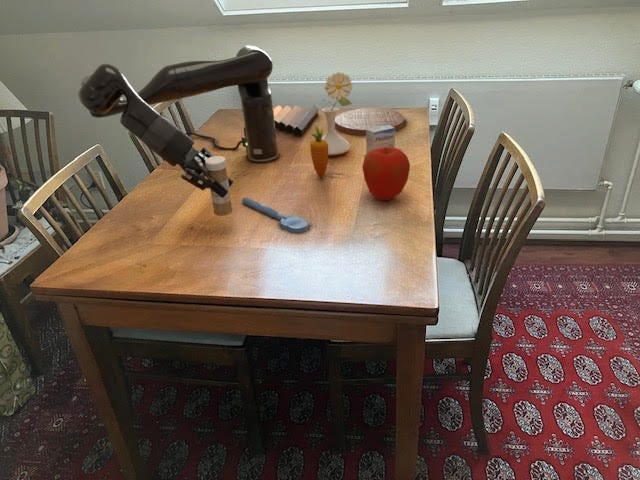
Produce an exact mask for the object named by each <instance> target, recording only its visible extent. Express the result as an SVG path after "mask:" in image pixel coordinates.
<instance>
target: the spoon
mask: <svg viewBox="0 0 640 480" xmlns="http://www.w3.org/2000/svg"><path fill="white" fill-rule="evenodd" d="M241 202H242V204H243V205H246V206H248V207H250V208H252V209H255V210H257V211H258V212H261V213H263V214H265V215H267V216H269V217H271V218H274V219H276V220H278V221H279V222H280V223H279V224H280V227H281V228H282V229H283V230H285V231H289V232H290V233H294V234H300V233H304V232H306V231H307V230H308V229H309V221H307V220H306V219H303V218H302V217H300V216H298V215H287V216H285V215H283V214H281V213H279V211H277V210H275V209H274V208H271V207H269V206H267V205H264V204H262V203H260V202H258V201H256V200H254V199H251V198H249V197H247V196H244V197H242V199H241Z"/></svg>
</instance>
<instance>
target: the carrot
mask: <svg viewBox="0 0 640 480" xmlns="http://www.w3.org/2000/svg"><path fill="white" fill-rule="evenodd" d="M314 128H315V131H316V132H315V133H314V132H310V135H311V136H312V137H314V138H315V139H314V140H311V142H310V144H309V145H310V154H311V160H312V161H311V162H312V164H313V165H312V166H313V168H314V171H315V173H316V174H317V176H318V178H319V179H322V178H324V176H325V174H326V171H327V168H328V163H329V155H328V143H327V142H326V140H324V139H322V137H323V136H324V135H323V134H324V129H323V128H320V129H319V126H317V125H316V126H314Z"/></svg>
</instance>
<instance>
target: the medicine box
mask: <svg viewBox="0 0 640 480" xmlns="http://www.w3.org/2000/svg"><path fill="white" fill-rule="evenodd" d="M382 147H393V148H396V131H395V128H394V127H392V126H390V125H384V126H380V127H375V128H371V129H366V135H365V156H366V155H367V154H368V153H369V152H370V151H371V150H373V149H377V148H382Z"/></svg>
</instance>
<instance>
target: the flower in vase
mask: <svg viewBox="0 0 640 480" xmlns="http://www.w3.org/2000/svg"><path fill="white" fill-rule="evenodd" d="M353 85H354V83H353V82H352V79H351V77H350V76H349V75H348V74H345V73H344V72H342V73H341V72H339V71H338V72H336V73H333V74H332V75H330V76H328V77H327V79H326V82H325V85H324V90H326V91H325V92H326V94H327V97H330V98H331V99H333V100H334V99H335V100H336V101H335V103H334V104H333V103H332V102H330V101H327V100H325V99H323V102H325V103H327V104H330V105H332V106H327V107H324V108H323V109H322V112H323V113H324V114H325V118H326V124H327V132H326V133H325V135H323V136H322V139H324V140H326V142H327V143H328V156H338V155H342V154H345V153H347V152H348V151H349V150H350V149H351V144H350V143H349V142H348V141H347V140H346V139H345V137H342V136H341V135H340V134H338V133H337V131H336V126H335V118H336V117H337V113H338V112H339V110H340V109H339V108H338V107H335V106H336V104H337V103H339V105H340V106H341V107H347V106H350V105H352V104H353V103H352V102H351V101H350V100H349V99H348V98H347V97H349V96H350V95H351V91H352V90H353V89H352V88H353Z"/></svg>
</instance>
